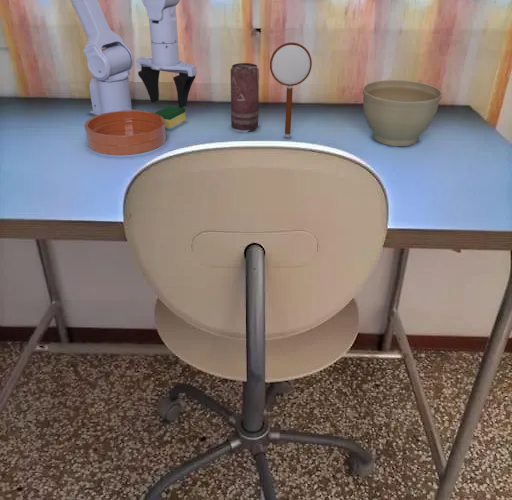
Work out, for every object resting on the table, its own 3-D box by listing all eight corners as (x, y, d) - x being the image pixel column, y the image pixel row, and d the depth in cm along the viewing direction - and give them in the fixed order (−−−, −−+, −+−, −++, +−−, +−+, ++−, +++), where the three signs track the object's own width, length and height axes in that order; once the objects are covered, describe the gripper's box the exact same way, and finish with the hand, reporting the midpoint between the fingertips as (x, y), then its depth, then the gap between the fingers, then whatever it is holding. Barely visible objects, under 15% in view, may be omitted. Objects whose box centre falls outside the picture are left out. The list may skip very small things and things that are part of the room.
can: (256, 133, 121) (256, 69, 114) (228, 131, 122) (227, 68, 115) (261, 124, 126) (262, 63, 119) (234, 122, 127) (234, 61, 120)
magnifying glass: (306, 136, 120) (312, 41, 109) (307, 139, 119) (313, 43, 108) (267, 136, 120) (270, 41, 109) (268, 139, 118) (270, 43, 108)
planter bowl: (369, 122, 128) (374, 76, 122) (438, 133, 122) (448, 85, 117) (348, 144, 116) (353, 94, 110) (424, 158, 110) (434, 105, 104)
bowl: (71, 145, 114) (67, 124, 112) (130, 124, 125) (128, 105, 123) (124, 164, 106) (121, 142, 103) (182, 140, 117) (180, 120, 115)
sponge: (170, 130, 122) (169, 115, 121) (155, 127, 124) (153, 112, 122) (186, 122, 127) (185, 107, 125) (171, 119, 129) (170, 105, 127)
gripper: (125, 40, 115) (132, 103, 123) (182, 48, 110) (185, 114, 117) (145, 35, 121) (150, 95, 128) (200, 42, 115) (203, 105, 123)
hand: (168, 103), depth 123 cm, fingers open, 7 cm apart
